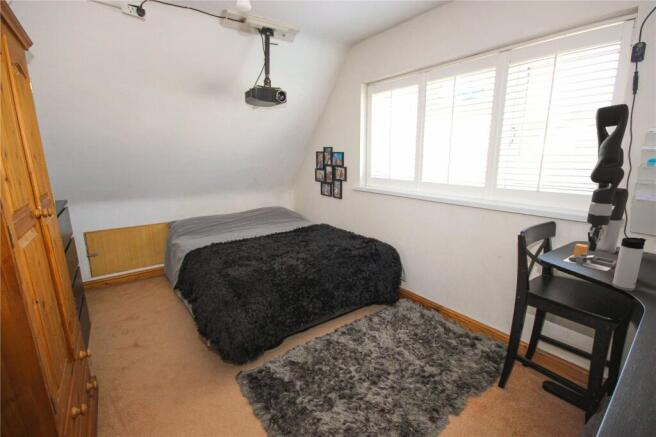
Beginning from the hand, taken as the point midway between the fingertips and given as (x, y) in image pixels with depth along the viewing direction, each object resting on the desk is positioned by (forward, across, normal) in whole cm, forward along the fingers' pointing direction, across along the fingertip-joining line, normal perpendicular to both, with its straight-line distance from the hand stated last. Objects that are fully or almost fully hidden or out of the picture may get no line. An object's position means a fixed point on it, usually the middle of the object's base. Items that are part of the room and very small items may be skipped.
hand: (592, 250), depth 139 cm
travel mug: (+8, +15, +15) cm, 23 cm away
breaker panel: (+8, -4, -1) cm, 9 cm away
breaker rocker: (+4, 0, -3) cm, 6 cm away
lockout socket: (+7, -7, +3) cm, 10 cm away
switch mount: (+7, 0, -3) cm, 7 cm away
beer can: (+8, +5, +13) cm, 16 cm away
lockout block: (+7, -9, -6) cm, 13 cm away
